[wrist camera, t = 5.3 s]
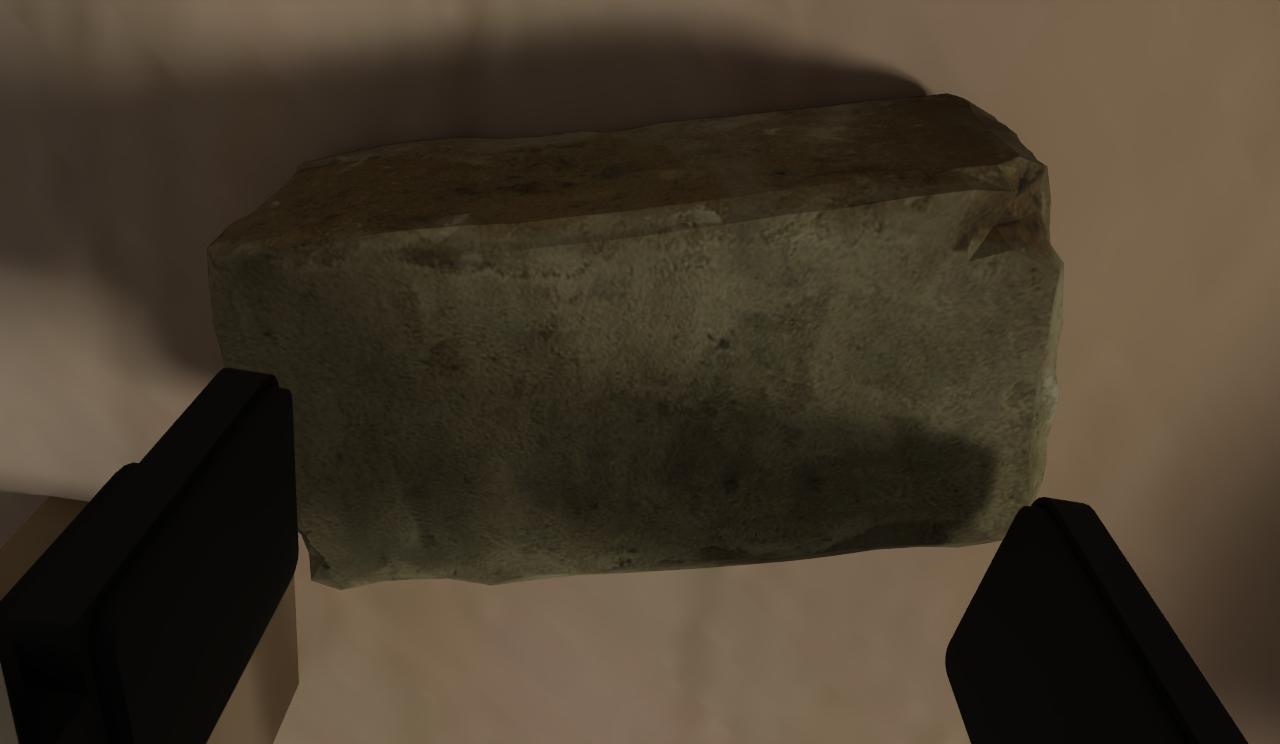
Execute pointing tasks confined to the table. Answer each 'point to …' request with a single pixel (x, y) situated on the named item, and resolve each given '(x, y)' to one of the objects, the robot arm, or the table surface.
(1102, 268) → the table surface
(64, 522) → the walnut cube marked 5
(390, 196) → the stone block
